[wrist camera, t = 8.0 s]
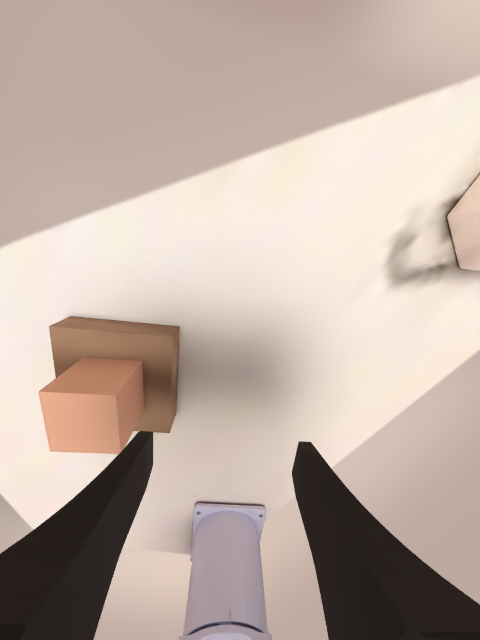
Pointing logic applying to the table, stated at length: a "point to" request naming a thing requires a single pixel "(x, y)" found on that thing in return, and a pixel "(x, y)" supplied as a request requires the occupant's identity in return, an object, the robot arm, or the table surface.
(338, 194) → the table surface
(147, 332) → the base block
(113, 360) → the cube
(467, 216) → the jar
